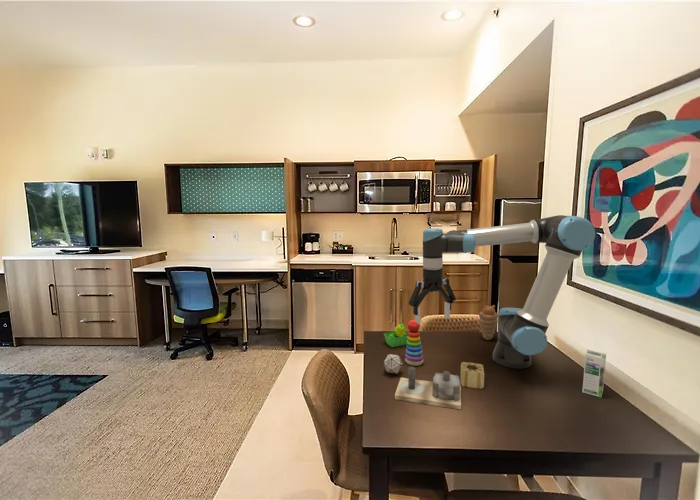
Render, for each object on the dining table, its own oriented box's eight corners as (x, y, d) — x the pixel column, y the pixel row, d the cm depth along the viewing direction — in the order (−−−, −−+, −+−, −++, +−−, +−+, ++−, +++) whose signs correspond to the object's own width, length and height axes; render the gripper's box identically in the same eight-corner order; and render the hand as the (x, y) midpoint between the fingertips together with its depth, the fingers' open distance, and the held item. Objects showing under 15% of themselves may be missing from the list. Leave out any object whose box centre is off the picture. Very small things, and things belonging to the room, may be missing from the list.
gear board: (460, 389, 125) (461, 366, 124) (460, 409, 113) (461, 384, 112) (400, 381, 132) (400, 358, 131) (394, 399, 120) (394, 374, 118)
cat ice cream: (496, 338, 173) (498, 303, 171) (497, 343, 166) (499, 307, 163) (478, 335, 176) (479, 301, 174) (478, 341, 169) (479, 306, 167)
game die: (396, 380, 140) (410, 360, 140) (392, 382, 132) (407, 361, 132) (379, 365, 143) (393, 346, 143) (374, 367, 135) (389, 346, 136)
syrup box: (581, 392, 122) (584, 353, 120) (584, 385, 127) (587, 348, 125) (601, 398, 119) (605, 358, 117) (603, 391, 123) (606, 352, 121)
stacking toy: (422, 358, 151) (423, 317, 149) (424, 366, 143) (425, 323, 141) (404, 357, 152) (404, 317, 149) (405, 366, 144) (405, 323, 142)
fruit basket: (402, 339, 173) (402, 317, 171) (412, 345, 165) (413, 323, 163) (383, 343, 168) (383, 321, 167) (392, 350, 160) (392, 326, 159)
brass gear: (482, 378, 133) (483, 364, 132) (484, 389, 125) (484, 374, 124) (460, 375, 135) (460, 361, 134) (460, 386, 128) (460, 370, 127)
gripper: (453, 264, 142) (453, 313, 145) (399, 269, 134) (400, 321, 137) (465, 266, 135) (464, 318, 138) (409, 272, 127) (409, 327, 130)
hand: (432, 320), depth 137 cm, fingers open, 13 cm apart
